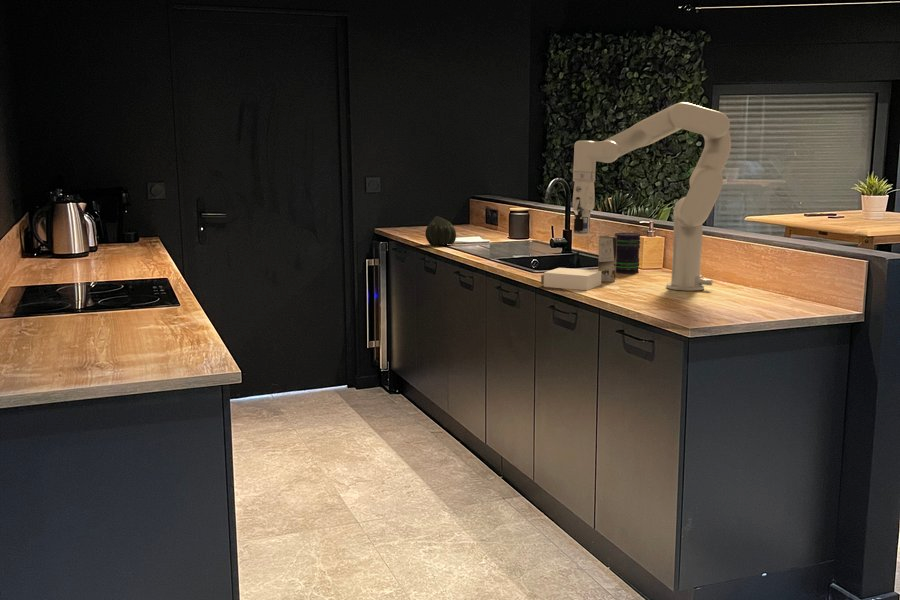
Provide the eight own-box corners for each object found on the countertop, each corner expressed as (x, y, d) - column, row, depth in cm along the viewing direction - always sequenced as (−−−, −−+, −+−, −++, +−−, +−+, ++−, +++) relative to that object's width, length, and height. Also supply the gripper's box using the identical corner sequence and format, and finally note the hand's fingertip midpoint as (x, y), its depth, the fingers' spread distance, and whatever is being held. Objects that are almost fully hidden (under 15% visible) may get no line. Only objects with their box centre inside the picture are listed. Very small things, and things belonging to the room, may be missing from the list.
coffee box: (615, 282, 313) (617, 237, 310) (597, 281, 314) (598, 237, 311) (615, 278, 322) (617, 235, 319) (598, 277, 323) (599, 234, 320)
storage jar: (644, 273, 335) (645, 234, 332) (622, 274, 331) (623, 235, 329) (629, 269, 344) (631, 232, 341) (608, 271, 340) (609, 233, 338)
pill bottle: (578, 233, 303) (579, 206, 302) (592, 235, 300) (593, 207, 298) (570, 235, 299) (571, 206, 297) (584, 236, 296) (585, 207, 294)
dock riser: (600, 284, 307) (601, 270, 306) (587, 290, 294) (587, 275, 294) (556, 281, 315) (556, 267, 314) (541, 286, 303) (541, 272, 302)
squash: (458, 236, 417) (454, 211, 424) (427, 237, 415) (424, 212, 422) (455, 253, 429) (452, 228, 436) (426, 254, 427) (422, 230, 434)
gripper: (586, 178, 287) (583, 232, 290) (602, 176, 302) (600, 228, 305) (564, 177, 290) (562, 231, 294) (582, 176, 305) (579, 227, 309)
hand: (581, 229), depth 299 cm, fingers closed on pill bottle, 5 cm apart
